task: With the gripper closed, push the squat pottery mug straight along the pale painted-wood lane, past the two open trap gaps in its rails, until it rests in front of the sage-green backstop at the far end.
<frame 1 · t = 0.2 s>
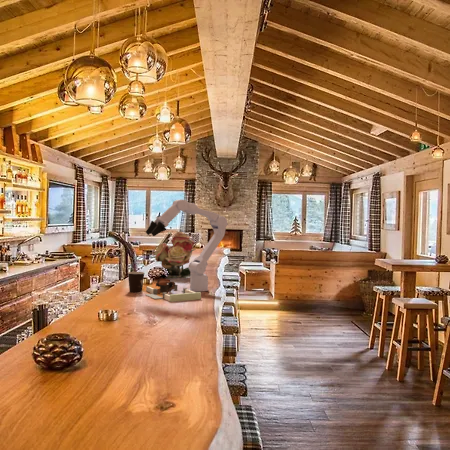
hand: (149, 234, 229), 31 cm above the table, tool tilted 45°, fingers open, 7 cm apart
coffee mug: (137, 291, 237), on the table
lane: (171, 294, 230), on the table
rose bouquet: (175, 276, 297), on the table
pottery mug: (165, 292, 236), on the table
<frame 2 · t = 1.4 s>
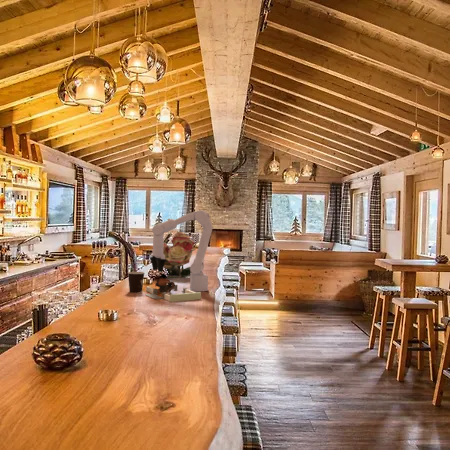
hand: (157, 270, 246), 10 cm above the table, tool pointing down, fingers open, 7 cm apart
nothing on the table moved.
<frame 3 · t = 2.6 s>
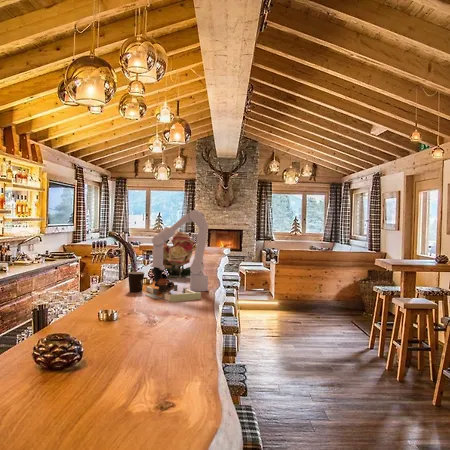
hand: (157, 281, 246), 4 cm above the table, tool pointing down, fingers closed
nothing on the table moved.
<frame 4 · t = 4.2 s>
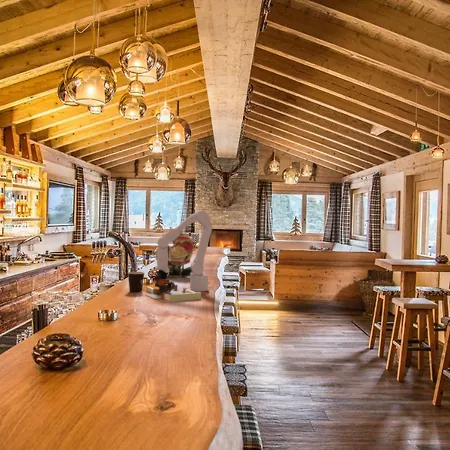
hand: (161, 284, 241), 3 cm above the table, tool pointing down, fingers closed
pottery mug: (164, 293, 234), on the table, touching gripper
everything else where it was.
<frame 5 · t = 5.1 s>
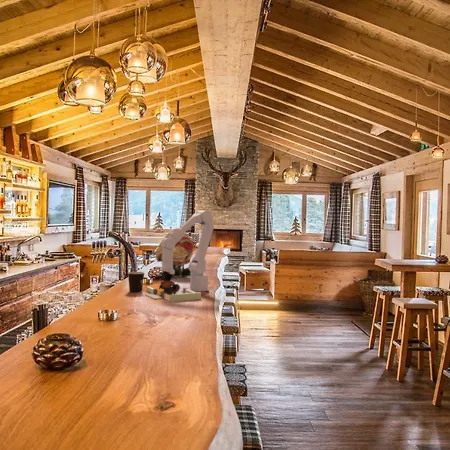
hand: (166, 286, 235), 3 cm above the table, tool pointing down, fingers closed
pottery mug: (169, 295, 229), on the table, touching gripper
everything else where it was.
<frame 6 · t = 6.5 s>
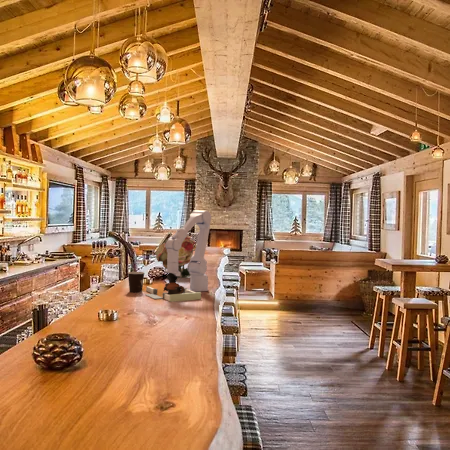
hand: (172, 288, 230), 3 cm above the table, tool pointing down, fingers closed, pressing on pottery mug
pottery mug: (173, 297, 224), on the table, touching gripper, lane
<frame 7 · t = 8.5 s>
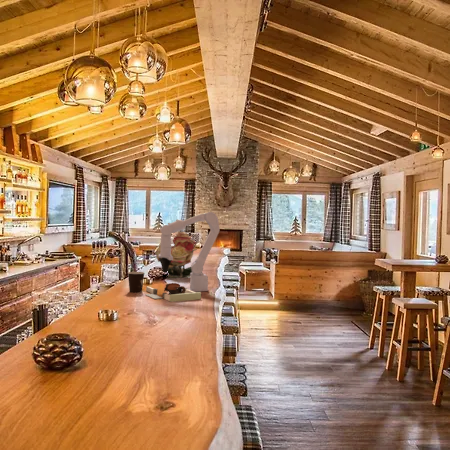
hand: (165, 272, 242), 10 cm above the table, tool pointing down, fingers closed
pottery mug: (174, 297, 223), on the table
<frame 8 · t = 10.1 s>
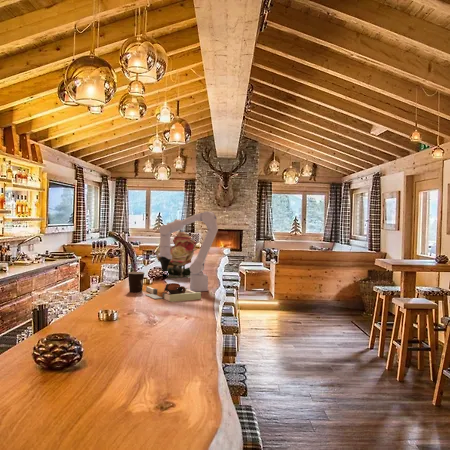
hand: (164, 270, 247), 10 cm above the table, tool pointing down, fingers closed
at the end: pottery mug inside the target area (2.0 cm from its centre), on the table; pottery mug tilted 1° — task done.
